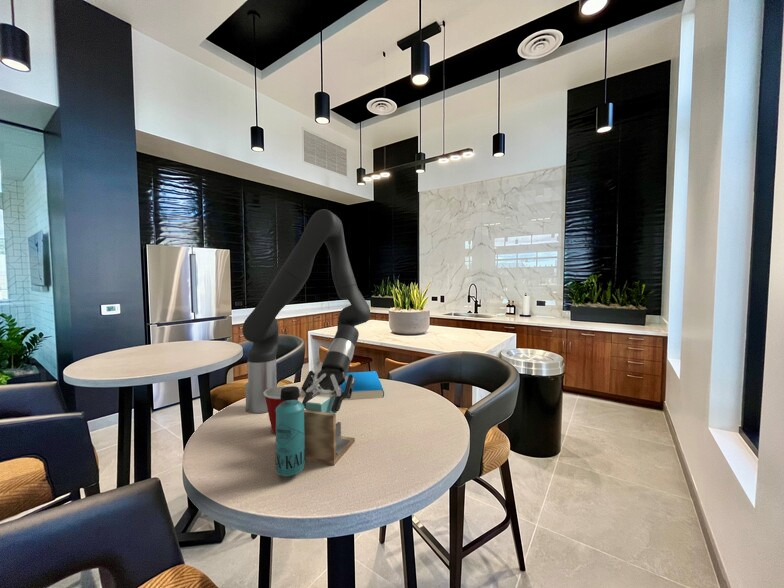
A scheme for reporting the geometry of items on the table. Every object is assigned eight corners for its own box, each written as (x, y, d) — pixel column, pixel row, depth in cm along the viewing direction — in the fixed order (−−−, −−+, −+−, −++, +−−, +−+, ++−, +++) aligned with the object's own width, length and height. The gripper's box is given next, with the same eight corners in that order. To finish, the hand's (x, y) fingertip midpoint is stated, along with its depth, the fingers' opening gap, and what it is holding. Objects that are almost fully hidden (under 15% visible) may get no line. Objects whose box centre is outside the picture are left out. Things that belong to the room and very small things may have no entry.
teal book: (306, 449, 82) (305, 402, 81) (320, 436, 88) (320, 393, 88) (321, 451, 80) (321, 403, 80) (335, 438, 87) (334, 394, 87)
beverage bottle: (279, 467, 75) (278, 383, 75) (308, 465, 76) (307, 382, 75) (271, 484, 69) (270, 393, 68) (303, 482, 69) (301, 392, 69)
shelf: (277, 455, 81) (276, 408, 80) (304, 433, 92) (303, 393, 92) (334, 465, 76) (333, 415, 76) (354, 441, 87) (354, 398, 87)
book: (339, 391, 119) (339, 372, 143) (339, 402, 119) (339, 381, 143) (384, 388, 122) (377, 370, 146) (385, 399, 122) (377, 379, 146)
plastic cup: (304, 434, 92) (303, 393, 91) (263, 441, 88) (262, 398, 87) (300, 420, 102) (299, 382, 101) (264, 425, 98) (263, 387, 98)
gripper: (313, 348, 94) (289, 400, 83) (357, 351, 90) (338, 406, 79) (322, 362, 99) (301, 412, 89) (364, 365, 95) (348, 419, 84)
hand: (319, 409), depth 84 cm, fingers open, 8 cm apart
